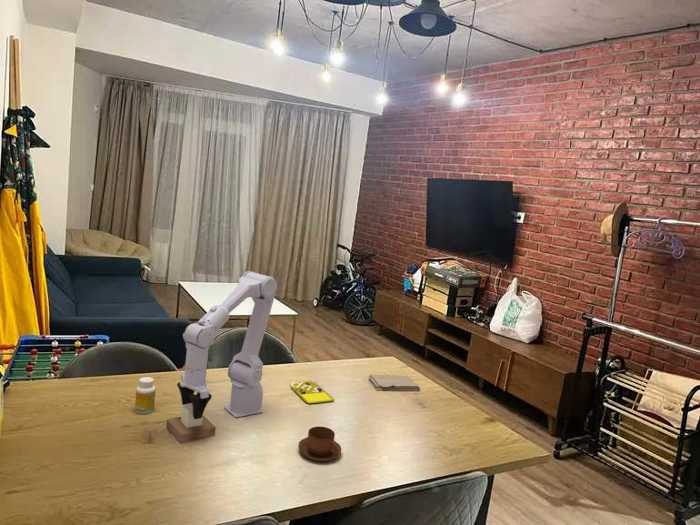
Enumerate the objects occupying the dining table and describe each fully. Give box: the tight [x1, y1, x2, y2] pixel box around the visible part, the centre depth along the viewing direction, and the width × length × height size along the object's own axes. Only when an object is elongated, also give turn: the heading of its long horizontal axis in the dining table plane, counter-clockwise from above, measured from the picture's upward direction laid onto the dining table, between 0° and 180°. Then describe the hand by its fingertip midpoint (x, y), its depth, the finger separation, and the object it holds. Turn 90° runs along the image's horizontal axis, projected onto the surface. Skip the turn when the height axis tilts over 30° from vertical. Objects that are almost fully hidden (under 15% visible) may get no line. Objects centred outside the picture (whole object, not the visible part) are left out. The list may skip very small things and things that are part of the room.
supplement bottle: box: [134, 376, 156, 415], centre depth 155 cm, size 5×5×10 cm
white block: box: [180, 403, 204, 428], centre depth 146 cm, size 4×4×5 cm
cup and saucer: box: [297, 426, 342, 462], centre depth 143 cm, size 12×12×6 cm
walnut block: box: [166, 415, 216, 445], centre depth 146 cm, size 10×10×3 cm
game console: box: [289, 380, 335, 406], centre depth 184 cm, size 18×11×2 cm, turn 31°
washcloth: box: [368, 374, 421, 392], centre depth 201 cm, size 12×18×3 cm, turn 107°
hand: (192, 412), depth 146 cm, fingers open, 7 cm apart
